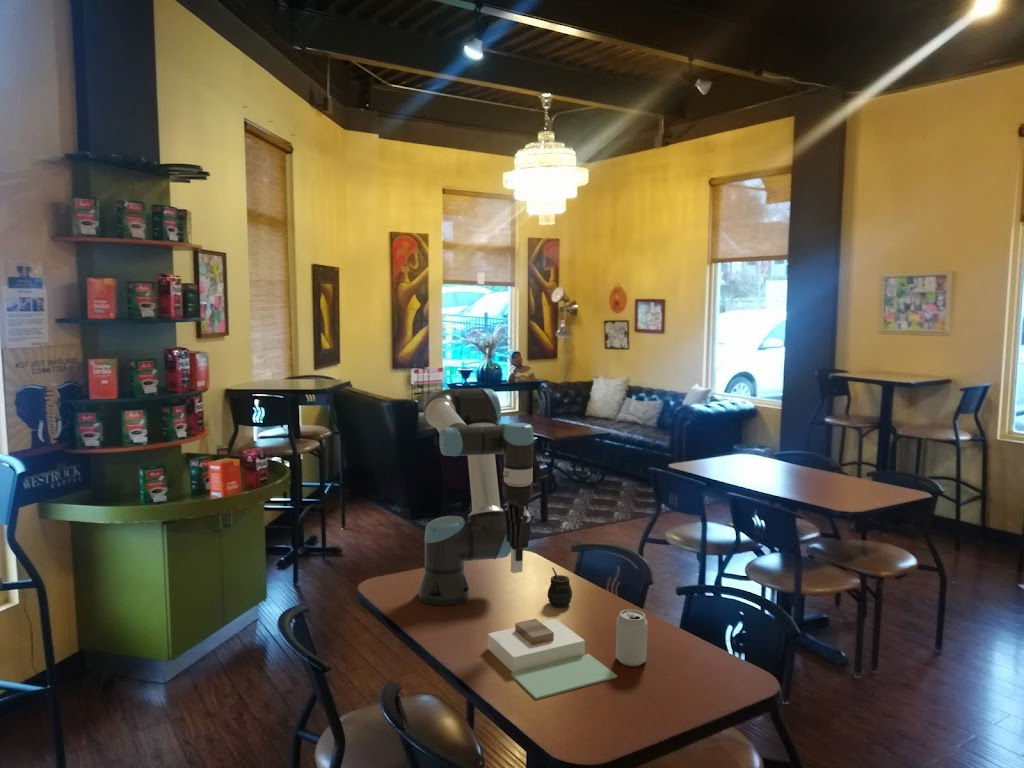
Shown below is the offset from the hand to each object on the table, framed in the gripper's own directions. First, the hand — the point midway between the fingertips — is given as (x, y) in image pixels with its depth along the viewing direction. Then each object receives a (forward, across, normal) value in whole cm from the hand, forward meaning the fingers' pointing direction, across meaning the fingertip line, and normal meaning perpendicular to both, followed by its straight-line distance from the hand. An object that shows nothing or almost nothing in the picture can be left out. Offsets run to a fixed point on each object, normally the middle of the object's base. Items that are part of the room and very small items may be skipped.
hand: (516, 571), depth 189 cm
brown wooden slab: (+13, +10, 0) cm, 17 cm away
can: (+18, +25, +19) cm, 36 cm away
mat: (+18, +24, 0) cm, 30 cm away
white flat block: (+17, +11, 0) cm, 20 cm away
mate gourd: (+18, -12, +21) cm, 30 cm away
